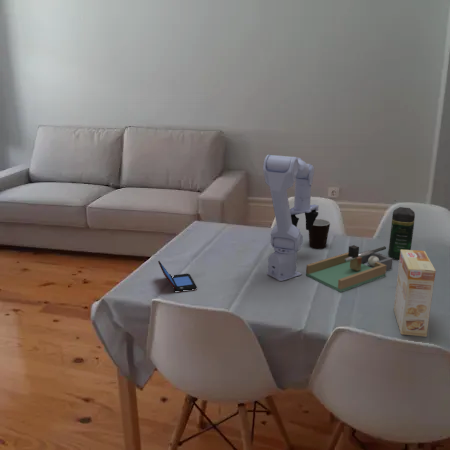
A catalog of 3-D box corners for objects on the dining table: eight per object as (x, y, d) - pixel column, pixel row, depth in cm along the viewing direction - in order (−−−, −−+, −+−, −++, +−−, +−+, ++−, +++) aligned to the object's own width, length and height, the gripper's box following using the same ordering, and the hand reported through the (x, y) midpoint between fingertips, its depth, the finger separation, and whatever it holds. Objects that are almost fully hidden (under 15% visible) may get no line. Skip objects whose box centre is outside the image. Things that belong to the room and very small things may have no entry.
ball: (373, 262, 181) (380, 255, 183) (364, 258, 185) (371, 252, 186) (375, 270, 183) (382, 264, 185) (366, 267, 187) (373, 260, 188)
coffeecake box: (427, 337, 139) (436, 270, 133) (400, 335, 140) (407, 269, 134) (417, 311, 153) (425, 250, 147) (393, 309, 154) (399, 248, 148)
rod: (348, 273, 176) (350, 250, 173) (341, 270, 178) (343, 247, 176) (387, 260, 187) (389, 238, 184) (379, 258, 189) (382, 236, 186)
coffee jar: (409, 262, 189) (415, 213, 183) (387, 259, 192) (392, 211, 186) (410, 253, 198) (416, 206, 192) (389, 250, 200) (393, 204, 194)
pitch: (340, 292, 166) (341, 280, 164) (306, 275, 178) (306, 264, 177) (398, 271, 181) (399, 260, 180) (362, 257, 194) (363, 247, 192)
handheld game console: (197, 291, 168) (197, 269, 165) (164, 295, 165) (163, 273, 162) (189, 275, 179) (188, 255, 177) (158, 279, 176) (157, 259, 174)
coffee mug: (322, 251, 200) (323, 227, 196) (302, 246, 204) (303, 223, 201) (335, 243, 208) (337, 219, 205) (316, 238, 213) (317, 215, 210)
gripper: (294, 202, 179) (293, 238, 183) (325, 195, 186) (323, 231, 191) (281, 197, 184) (280, 233, 188) (311, 191, 192) (309, 226, 196)
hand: (301, 232), depth 190 cm, fingers open, 7 cm apart
